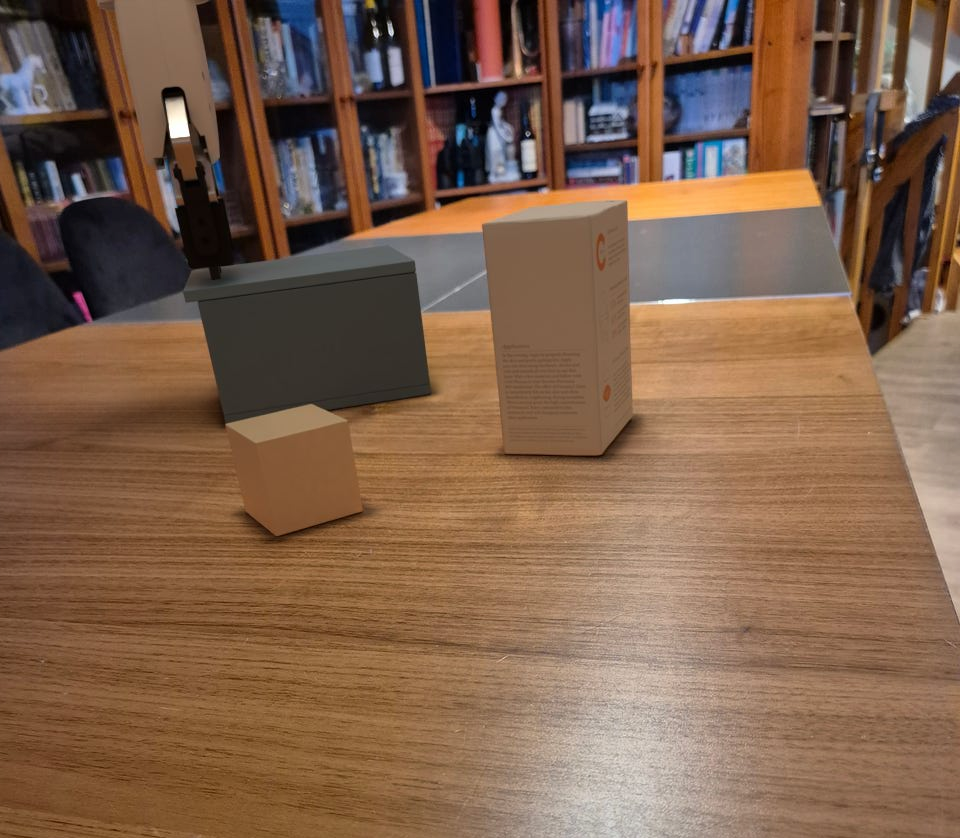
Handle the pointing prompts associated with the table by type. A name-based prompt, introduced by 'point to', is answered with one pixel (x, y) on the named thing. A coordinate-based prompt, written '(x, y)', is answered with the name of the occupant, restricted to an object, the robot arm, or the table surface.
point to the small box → (561, 325)
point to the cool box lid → (295, 272)
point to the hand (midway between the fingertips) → (213, 259)
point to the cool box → (317, 346)
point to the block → (295, 468)
